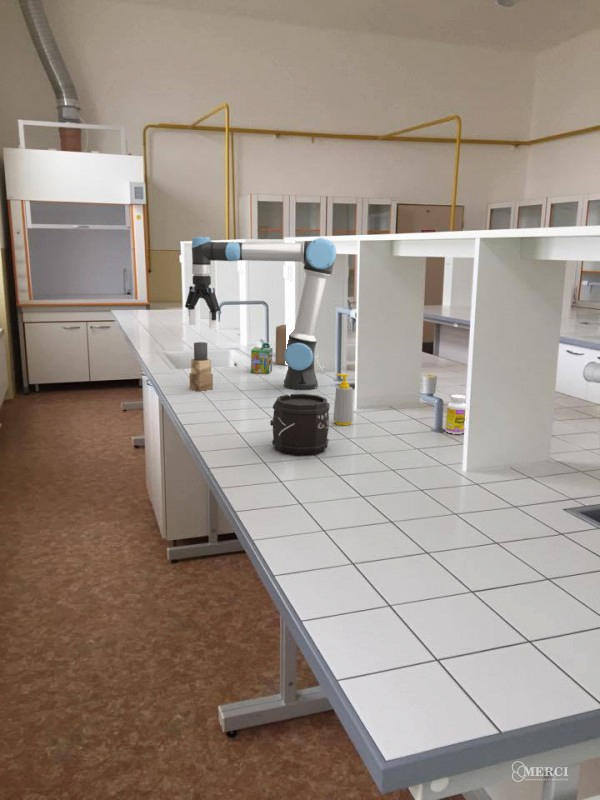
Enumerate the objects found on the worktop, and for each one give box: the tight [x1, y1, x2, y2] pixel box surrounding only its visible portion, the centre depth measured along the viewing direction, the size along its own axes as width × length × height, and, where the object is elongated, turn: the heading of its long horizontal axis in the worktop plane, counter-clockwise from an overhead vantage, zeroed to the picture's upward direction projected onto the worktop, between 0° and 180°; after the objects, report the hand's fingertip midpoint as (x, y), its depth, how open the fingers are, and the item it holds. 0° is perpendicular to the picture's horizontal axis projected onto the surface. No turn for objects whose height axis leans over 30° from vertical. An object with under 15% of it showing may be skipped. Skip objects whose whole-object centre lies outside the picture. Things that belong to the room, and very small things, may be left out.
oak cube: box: [190, 358, 212, 375], centre depth 287 cm, size 6×6×6 cm
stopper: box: [193, 341, 208, 361], centre depth 285 cm, size 6×6×7 cm
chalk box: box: [250, 341, 273, 375], centre depth 329 cm, size 9×9×15 cm
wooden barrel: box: [269, 393, 331, 457], centre depth 208 cm, size 18×18×16 cm
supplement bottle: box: [445, 394, 467, 435], centre depth 231 cm, size 7×7×13 cm
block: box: [275, 324, 287, 365], centre depth 353 cm, size 10×10×20 cm
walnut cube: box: [188, 372, 214, 393], centre depth 288 cm, size 7×7×7 cm
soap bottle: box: [333, 373, 354, 426], centre depth 238 cm, size 7×7×18 cm
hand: (202, 326), depth 284 cm, fingers open, 13 cm apart
